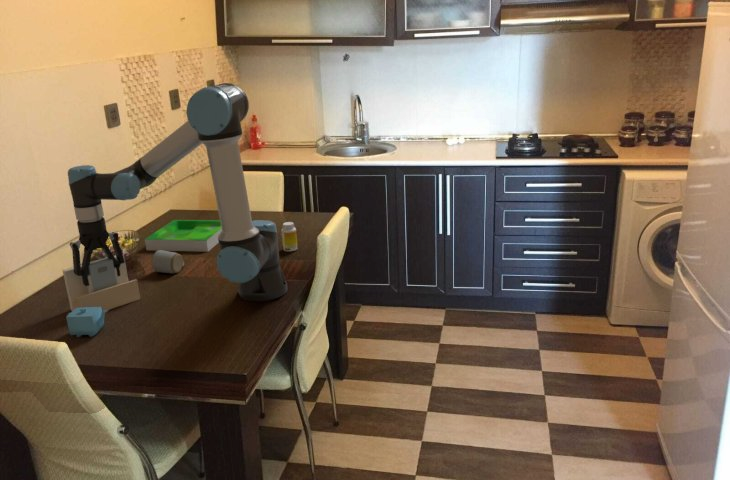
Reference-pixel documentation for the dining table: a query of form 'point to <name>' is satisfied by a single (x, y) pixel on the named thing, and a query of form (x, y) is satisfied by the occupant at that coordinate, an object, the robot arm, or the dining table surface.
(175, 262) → the grey cylinder
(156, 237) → the tray
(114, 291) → the board
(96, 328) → the light blue rounded block
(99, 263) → the grey block
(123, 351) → the dining table surface
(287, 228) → the supplement bottle
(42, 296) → the dining table surface
